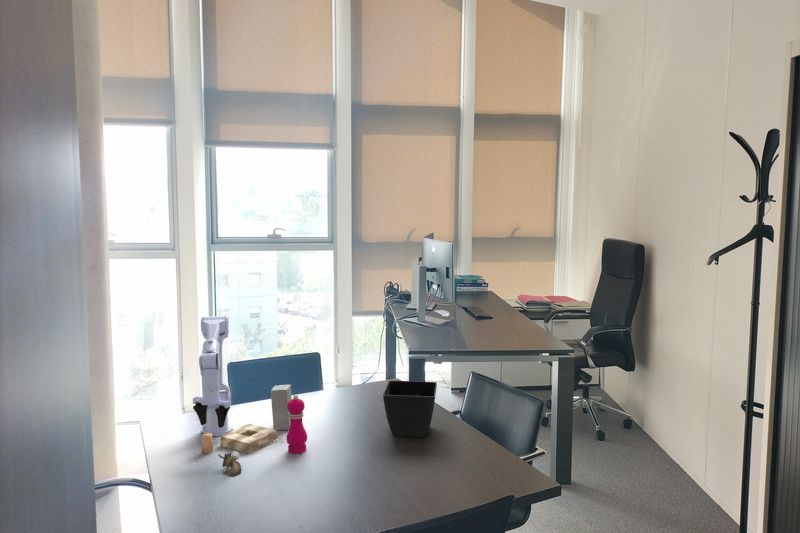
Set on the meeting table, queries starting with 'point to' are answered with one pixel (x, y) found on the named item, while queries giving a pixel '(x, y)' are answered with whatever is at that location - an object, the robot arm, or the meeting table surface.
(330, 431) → the meeting table surface
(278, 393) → the skincare box
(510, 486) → the meeting table surface
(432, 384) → the flower pot
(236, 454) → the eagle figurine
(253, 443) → the bore block
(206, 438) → the peg
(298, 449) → the pepper mill
